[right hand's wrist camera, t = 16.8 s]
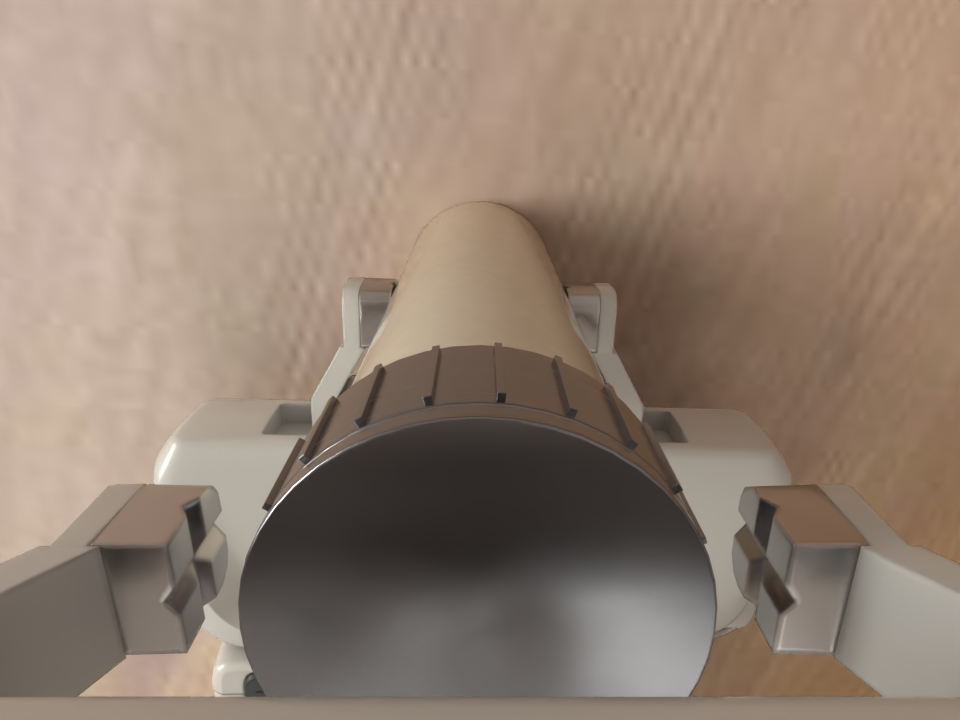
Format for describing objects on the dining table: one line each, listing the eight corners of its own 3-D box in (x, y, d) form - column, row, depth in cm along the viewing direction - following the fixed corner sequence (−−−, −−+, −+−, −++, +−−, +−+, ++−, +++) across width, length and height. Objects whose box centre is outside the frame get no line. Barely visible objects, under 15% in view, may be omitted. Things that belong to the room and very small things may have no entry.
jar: (523, 354, 27) (593, 776, 10) (394, 315, 26) (244, 696, 10) (569, 226, 25) (746, 484, 8) (431, 182, 24) (326, 365, 8)
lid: (754, 491, 10) (828, 597, 8) (506, 722, 12) (512, 861, 10) (439, 252, 9) (427, 301, 7) (212, 549, 11) (143, 666, 9)
